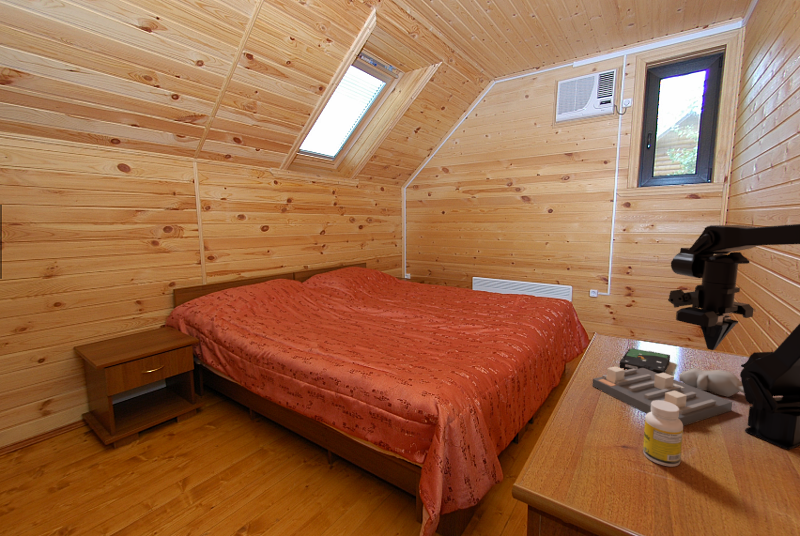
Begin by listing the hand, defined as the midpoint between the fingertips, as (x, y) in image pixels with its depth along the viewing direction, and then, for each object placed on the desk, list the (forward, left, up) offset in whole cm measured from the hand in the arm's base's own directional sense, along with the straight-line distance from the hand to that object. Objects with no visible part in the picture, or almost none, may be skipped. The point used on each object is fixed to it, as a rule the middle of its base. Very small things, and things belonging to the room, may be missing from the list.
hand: (711, 349), depth 83 cm
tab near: (-2, +14, -10) cm, 18 cm away
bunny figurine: (+1, -7, -13) cm, 14 cm away
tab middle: (+5, +7, -10) cm, 13 cm away
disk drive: (+19, -7, -13) cm, 24 cm away
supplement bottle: (-10, +30, -12) cm, 34 cm away
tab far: (+12, +14, -10) cm, 21 cm away
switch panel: (+5, +9, -12) cm, 16 cm away
